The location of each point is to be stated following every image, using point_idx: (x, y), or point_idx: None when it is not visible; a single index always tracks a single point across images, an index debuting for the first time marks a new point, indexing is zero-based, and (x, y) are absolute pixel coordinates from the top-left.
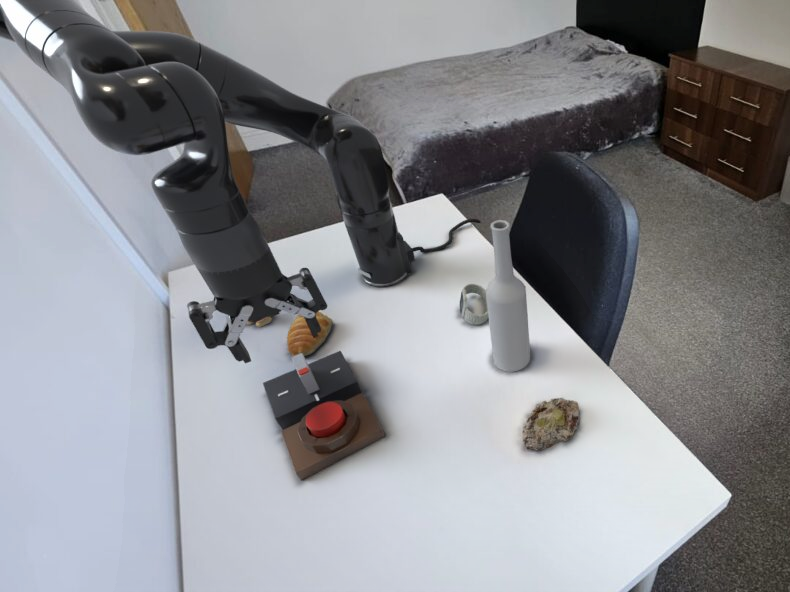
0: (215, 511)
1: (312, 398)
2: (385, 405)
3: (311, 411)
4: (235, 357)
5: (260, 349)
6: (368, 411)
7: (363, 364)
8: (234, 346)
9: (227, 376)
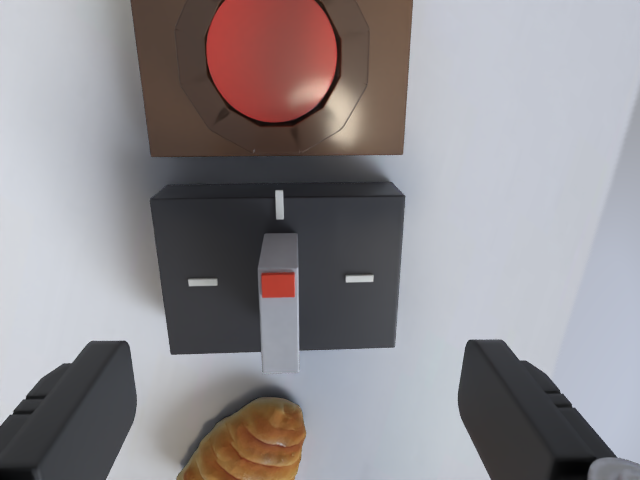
0: (602, 17)
1: (292, 210)
2: (111, 90)
3: (305, 107)
4: (552, 385)
5: (362, 469)
6: (150, 59)
7: (138, 290)
8: (588, 451)
9: (447, 425)
